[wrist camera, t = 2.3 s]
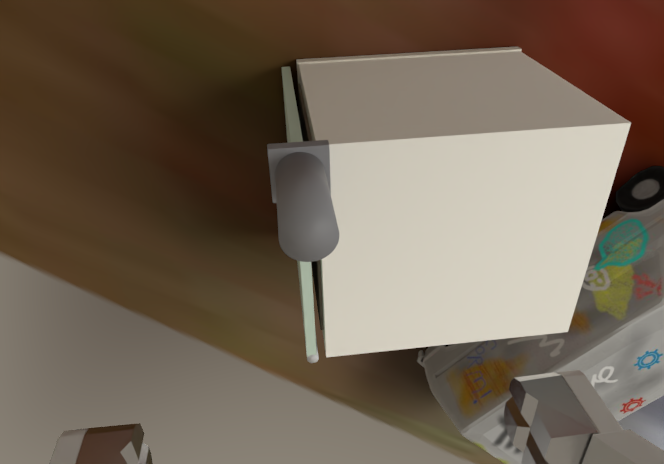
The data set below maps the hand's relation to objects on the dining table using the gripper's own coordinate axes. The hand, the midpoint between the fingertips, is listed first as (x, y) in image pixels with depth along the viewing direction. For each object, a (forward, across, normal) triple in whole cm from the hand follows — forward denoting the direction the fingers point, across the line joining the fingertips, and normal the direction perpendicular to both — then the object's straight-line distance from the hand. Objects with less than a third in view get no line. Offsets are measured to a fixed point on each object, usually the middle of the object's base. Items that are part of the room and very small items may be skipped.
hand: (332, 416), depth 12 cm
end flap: (+24, 0, +5) cm, 24 cm away
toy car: (+24, -22, +18) cm, 37 cm away
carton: (+24, -8, +5) cm, 26 cm away
